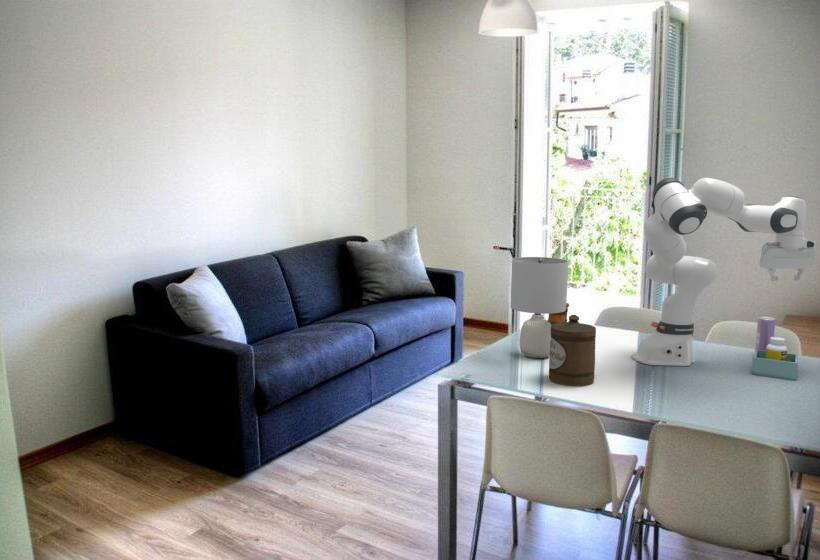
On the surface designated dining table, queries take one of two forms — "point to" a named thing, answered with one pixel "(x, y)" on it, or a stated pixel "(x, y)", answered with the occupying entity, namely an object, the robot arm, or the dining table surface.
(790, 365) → the caddy
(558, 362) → the wooden container
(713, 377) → the dining table surface
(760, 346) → the beverage can
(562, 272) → the lamp
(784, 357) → the pill bottle
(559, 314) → the mug
